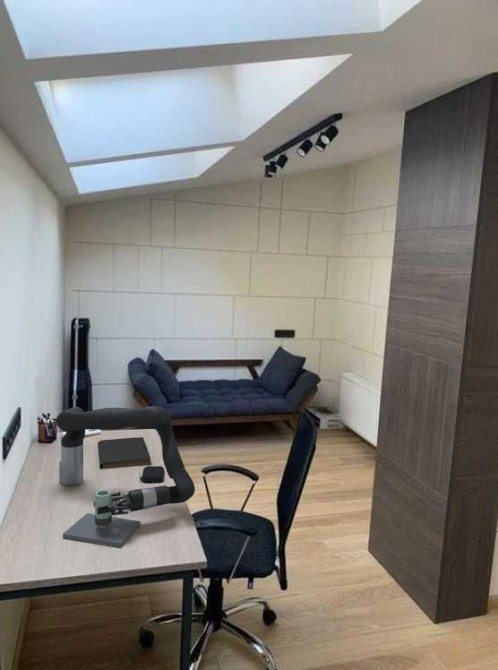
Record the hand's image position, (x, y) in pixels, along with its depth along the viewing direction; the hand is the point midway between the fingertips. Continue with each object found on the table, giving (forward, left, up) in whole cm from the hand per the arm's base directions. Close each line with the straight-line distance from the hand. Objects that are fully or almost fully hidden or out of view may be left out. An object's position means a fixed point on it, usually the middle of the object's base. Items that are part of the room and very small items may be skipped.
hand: (95, 507), depth 179 cm
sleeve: (+2, +2, -6) cm, 7 cm away
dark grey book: (-26, +74, -10) cm, 79 cm away
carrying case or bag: (-1, +52, -10) cm, 53 cm away
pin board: (+2, +2, -9) cm, 10 cm away
